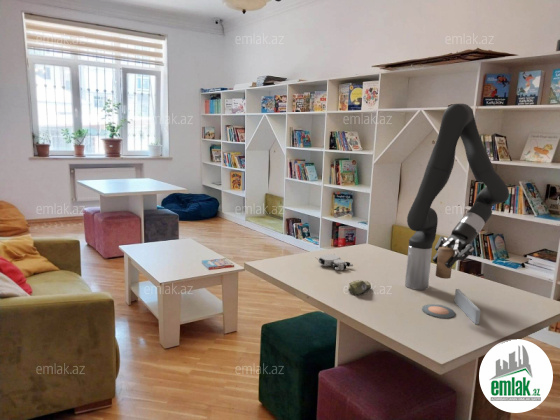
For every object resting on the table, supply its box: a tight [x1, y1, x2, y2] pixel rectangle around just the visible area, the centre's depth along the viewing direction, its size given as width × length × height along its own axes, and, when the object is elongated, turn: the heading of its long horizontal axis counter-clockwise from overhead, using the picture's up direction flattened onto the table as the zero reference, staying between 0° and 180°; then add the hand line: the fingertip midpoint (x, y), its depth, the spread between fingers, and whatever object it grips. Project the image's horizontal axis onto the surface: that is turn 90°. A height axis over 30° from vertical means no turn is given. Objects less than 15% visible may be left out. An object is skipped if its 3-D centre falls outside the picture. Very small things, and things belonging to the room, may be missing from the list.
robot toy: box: [315, 253, 354, 271], centre depth 200 cm, size 12×4×15 cm
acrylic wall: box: [453, 288, 481, 325], centre depth 152 cm, size 20×1×5 cm, turn 177°
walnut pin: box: [435, 247, 454, 280], centre depth 149 cm, size 5×5×10 cm
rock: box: [348, 279, 372, 296], centre depth 170 cm, size 11×6×10 cm
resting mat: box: [421, 303, 456, 319], centre depth 152 cm, size 11×11×1 cm
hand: (440, 264), depth 148 cm, fingers closed on walnut pin, 5 cm apart
